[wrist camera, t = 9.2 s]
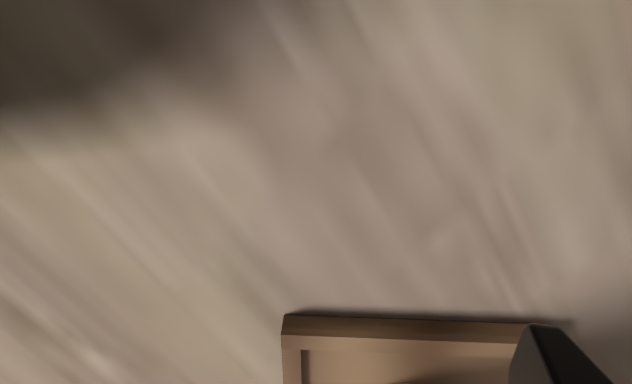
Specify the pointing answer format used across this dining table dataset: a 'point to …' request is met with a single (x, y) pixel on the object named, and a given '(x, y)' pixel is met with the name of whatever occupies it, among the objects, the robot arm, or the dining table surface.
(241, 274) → the dining table surface
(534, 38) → the dining table surface
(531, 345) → the robot arm
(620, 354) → the dining table surface
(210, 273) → the dining table surface
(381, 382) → the walnut tray
